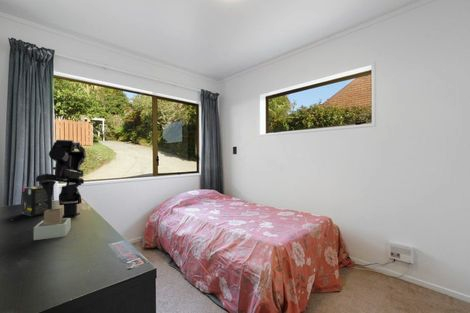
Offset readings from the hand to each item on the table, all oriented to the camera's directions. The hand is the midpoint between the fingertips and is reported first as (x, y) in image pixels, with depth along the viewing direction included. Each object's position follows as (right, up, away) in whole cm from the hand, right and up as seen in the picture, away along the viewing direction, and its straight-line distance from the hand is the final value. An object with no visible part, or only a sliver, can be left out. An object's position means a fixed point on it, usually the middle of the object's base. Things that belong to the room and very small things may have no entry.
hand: (60, 198), depth 101 cm
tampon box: (-29, -12, +20) cm, 37 cm away
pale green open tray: (+6, -12, -12) cm, 18 cm away
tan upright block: (+6, -11, -12) cm, 17 cm away
